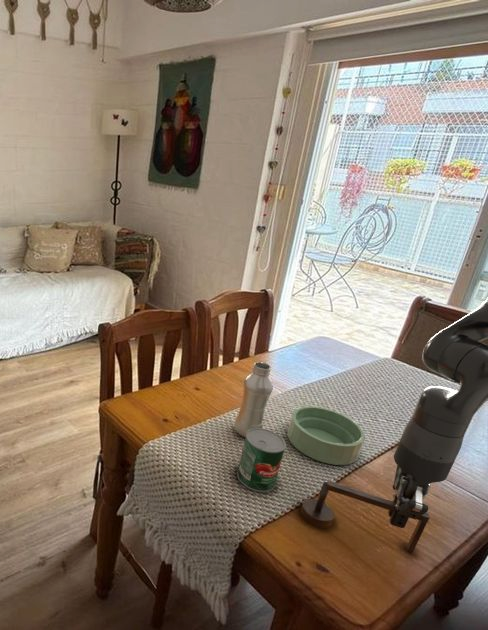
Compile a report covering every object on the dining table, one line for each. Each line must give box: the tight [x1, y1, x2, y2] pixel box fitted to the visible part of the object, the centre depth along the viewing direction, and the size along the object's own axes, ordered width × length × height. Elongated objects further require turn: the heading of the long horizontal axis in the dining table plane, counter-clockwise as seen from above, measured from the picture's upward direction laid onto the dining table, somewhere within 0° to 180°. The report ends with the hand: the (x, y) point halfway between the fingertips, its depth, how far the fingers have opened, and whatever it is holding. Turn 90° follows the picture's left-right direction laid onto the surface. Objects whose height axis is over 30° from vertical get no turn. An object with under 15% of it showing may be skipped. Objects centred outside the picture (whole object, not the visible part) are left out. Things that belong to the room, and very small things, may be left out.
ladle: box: [300, 479, 430, 554], centre depth 84 cm, size 19×6×9 cm, turn 62°
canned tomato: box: [236, 428, 287, 493], centre depth 95 cm, size 8×8×11 cm
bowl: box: [286, 405, 366, 466], centre depth 108 cm, size 16×16×6 cm
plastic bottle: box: [234, 361, 274, 438], centre depth 108 cm, size 6×7×20 cm
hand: (395, 520), depth 81 cm, fingers closed on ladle, 1 cm apart
